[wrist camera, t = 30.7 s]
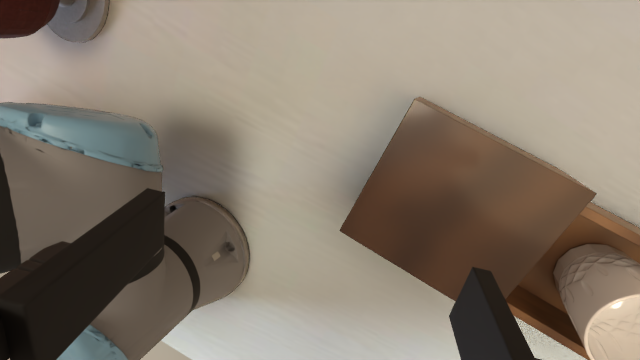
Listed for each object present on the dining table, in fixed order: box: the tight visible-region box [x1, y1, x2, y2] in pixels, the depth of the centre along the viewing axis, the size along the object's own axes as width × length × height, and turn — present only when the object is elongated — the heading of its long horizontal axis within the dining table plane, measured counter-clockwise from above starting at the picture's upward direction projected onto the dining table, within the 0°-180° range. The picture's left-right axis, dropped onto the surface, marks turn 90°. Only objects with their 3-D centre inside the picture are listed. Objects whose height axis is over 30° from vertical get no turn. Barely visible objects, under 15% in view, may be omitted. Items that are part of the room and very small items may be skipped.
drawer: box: [505, 202, 640, 360], centre depth 32 cm, size 20×13×7 cm, turn 63°
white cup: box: [553, 244, 640, 360], centre depth 30 cm, size 8×8×10 cm
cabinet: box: [340, 97, 596, 301], centre depth 34 cm, size 16×14×9 cm
